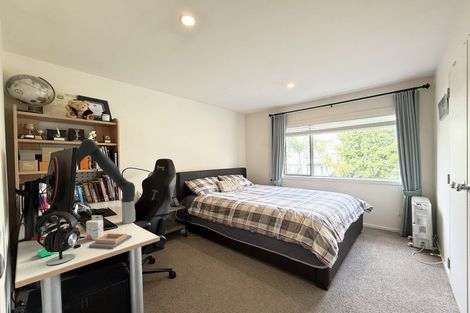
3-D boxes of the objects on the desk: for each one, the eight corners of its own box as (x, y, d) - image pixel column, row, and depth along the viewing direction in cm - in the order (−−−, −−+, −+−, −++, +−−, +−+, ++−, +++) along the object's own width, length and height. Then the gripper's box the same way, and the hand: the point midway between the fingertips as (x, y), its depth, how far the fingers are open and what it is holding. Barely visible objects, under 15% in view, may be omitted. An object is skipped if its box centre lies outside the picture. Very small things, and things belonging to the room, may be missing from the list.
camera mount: (64, 246, 123) (63, 230, 123) (69, 249, 119) (68, 232, 118) (37, 255, 113) (36, 237, 112) (41, 259, 108) (41, 239, 108)
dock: (110, 236, 137) (110, 231, 137) (131, 237, 134) (131, 232, 134) (89, 247, 121) (89, 241, 121) (113, 248, 118) (113, 242, 118)
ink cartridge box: (86, 239, 132) (85, 217, 132) (92, 236, 137) (91, 215, 137) (98, 240, 131) (97, 217, 131) (103, 236, 136) (103, 215, 136)
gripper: (63, 197, 130) (78, 215, 128) (83, 193, 144) (97, 209, 142) (56, 205, 131) (71, 223, 129) (77, 200, 145) (91, 216, 143)
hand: (85, 216), depth 135 cm, fingers open, 8 cm apart
